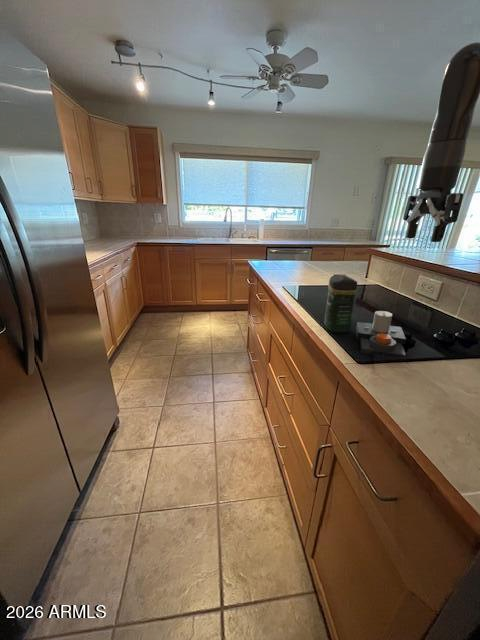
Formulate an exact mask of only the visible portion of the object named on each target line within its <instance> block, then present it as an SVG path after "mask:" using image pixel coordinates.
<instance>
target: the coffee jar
mask: <svg viewBox="0 0 480 640" xmlns="http://www.w3.org/2000/svg"><path fill="white" fill-rule="evenodd" d="M327 290H328V291H327V300H326V307H325V312H324V321H323V324H324V327H325V328H326V329H327V331H329V332H331V333H337V334H345V333H348V332H350V331H351V327H352V318H353V311H354V305H355V299H356V295H357V291H358V281H357V280H355V279H354V278H352V277H350V276H349V275H347V274H341V273H339V274H338V273H337V274H335V273H334V274H333V275H332V276H331V277H329V281H328V289H327Z"/></svg>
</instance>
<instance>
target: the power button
mask: <svg viewBox="0 0 480 640" xmlns="http://www.w3.org/2000/svg"><path fill="white" fill-rule="evenodd" d="M376 341H377V342H379V343H383V344H390V341H391V336H390V335H388V334H383V333H380V334H378V335H377V338H376Z"/></svg>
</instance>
